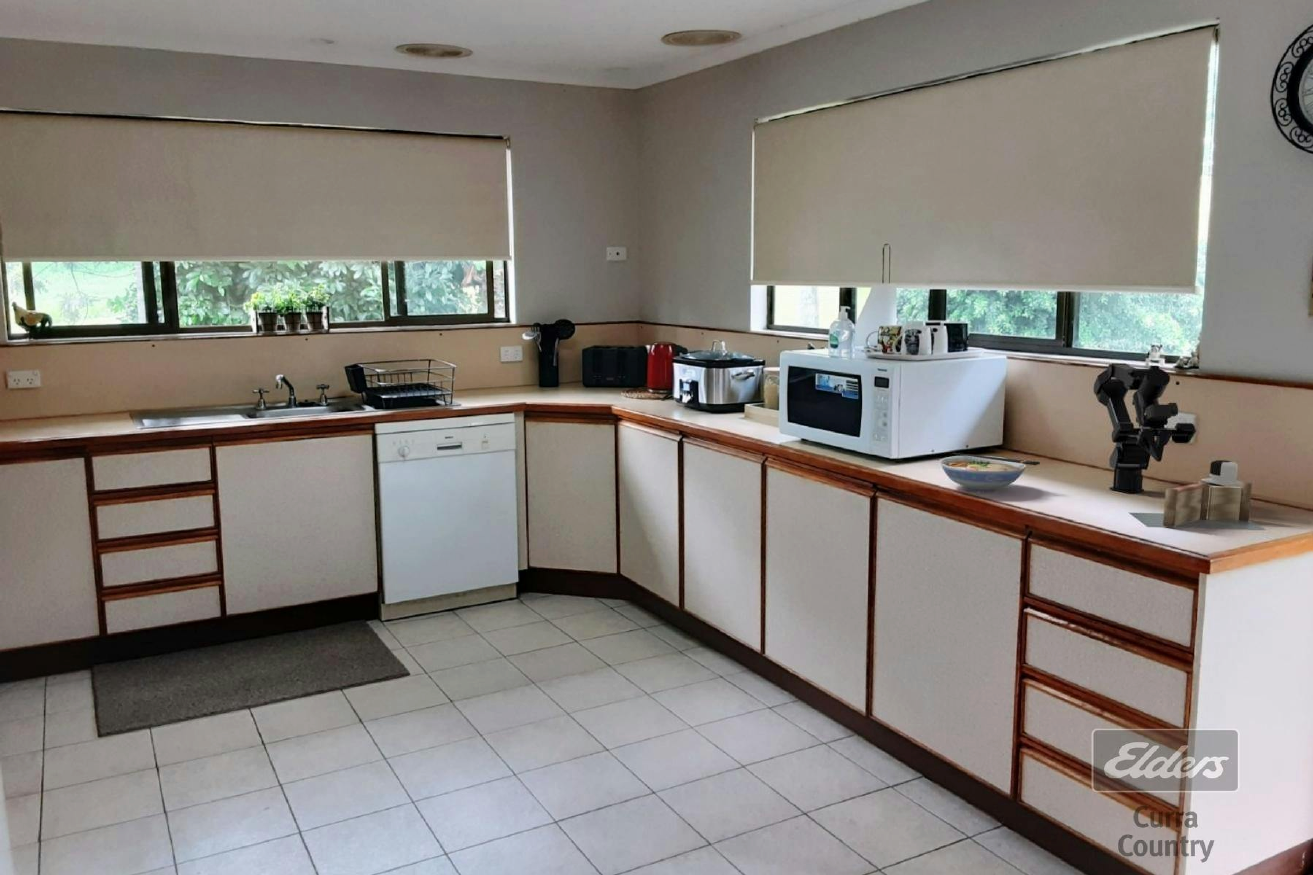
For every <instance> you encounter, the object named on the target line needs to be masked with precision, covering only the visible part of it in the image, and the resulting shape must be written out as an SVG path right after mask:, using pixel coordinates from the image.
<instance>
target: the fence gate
mask: <svg viewBox="0 0 1313 875" xmlns="http://www.w3.org/2000/svg"><path fill="white" fill-rule="evenodd" d="M1202 488H1203V485H1202V484H1198V483H1192V484H1187V485H1183V486H1182V485H1181V486H1179V487H1174V488H1170V487H1169V488H1168V487H1167V488H1165V492H1164V493H1165V496H1164V508H1163V513H1164V518H1163V525H1164V526H1168V527H1174V526H1175V525H1178V524H1182V523H1186V522H1190V521H1194V520H1198V519H1200V510H1201V498H1202Z"/></svg>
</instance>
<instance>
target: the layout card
mask: <svg viewBox="0 0 1313 875" xmlns="http://www.w3.org/2000/svg"><path fill="white" fill-rule="evenodd" d="M1128 514H1129V515H1131V517H1134V519H1136V520H1138V521H1139V522H1140V523H1141V524H1143V525H1144V526H1146V527H1147V528H1169V529H1171V528H1172V529H1174V528H1175V529H1206V530H1207V529H1210V530H1214V529H1215V530H1246V531H1249V530H1250V531H1254V530H1255V531H1267V529H1266V528H1265V527H1262V526H1260V525H1258V524H1257V523H1256V522H1253V521H1251V519H1250V520H1249V521H1230V520H1209V519H1207V517H1206V520H1194V521H1190V522H1186V523H1182V524H1178V525H1175V526H1174V527H1168V526H1164V525H1163V518H1164V512H1163V513H1162V512H1159V513H1158V512H1128Z"/></svg>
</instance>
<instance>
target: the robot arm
mask: <svg viewBox="0 0 1313 875" xmlns="http://www.w3.org/2000/svg"><path fill="white" fill-rule="evenodd" d="M1106 368H1107V369H1105V370H1103V371H1102V372H1101V373H1100V374H1098V375H1097V377H1096V379H1095V382H1094V383H1093V394H1094V395H1095V397H1096V399H1097V402H1099V403H1100V404H1102V405H1103V406H1105V407H1106V409H1107V412H1108V415H1109V418H1110V422H1111V424H1112V425H1111V426H1112V427H1113V430H1112V432H1111V440H1112V443H1114V444H1115V447H1114V448H1113V450H1112V453H1111V454H1110V457H1109V459H1108V460H1109V467H1110V468H1112V469H1113V470H1114V471H1113V482H1112V486H1110V487H1109V488H1108V489H1109V490H1112V491H1117V492H1120V493H1122V492H1123V493H1127V494H1134V493H1135V494H1136V493H1139V492H1144V491H1145V489H1144V488H1143V481H1144V475H1143V470H1145V471H1147V470H1148V469H1149V465H1150V460H1151V457H1152V458H1153V459H1154V460H1155V461H1156V462H1157V463H1158V462H1159V463H1161V462H1162V460H1163V453H1164V448H1165V446H1167V445H1168V444H1169V442H1170V440H1171V441H1172V442H1173V443H1175V444H1188V443H1190V442H1191V440H1192V439H1193V437H1194V435H1195V434H1196V432H1197V428H1196V425H1195V424H1194V423H1192V422H1176V424H1175V426H1174V427H1165V426H1167V425H1168V424H1169V421H1168V419H1171V418H1172V417H1176V416H1177V415H1179V407H1178V404H1177V402H1169V403H1167V404H1160V402H1159V398H1161V397H1163V394H1164V393H1165V390H1166V389H1167V387H1168V386H1169V384H1170V381H1171V376H1170V375H1169V373H1168V372H1166V371H1165V370H1164V369H1161V368H1160V365H1150V366H1149V368H1137V367H1134V366H1131V365H1129V364H1128V363H1123V362H1122V363H1121V362H1120V363H1118V362H1117V363H1115V362H1114V363H1113V362H1112V363H1109V364H1108V366H1107V367H1106ZM1129 391H1135V392H1134V393H1133V395H1132V402H1131V404H1132V406H1134V409H1135V414H1136V417H1135V423H1137V424H1138V427H1135V426H1134V425H1135V424H1134V422H1132V419H1131V418H1130V417H1131V416H1130V413H1129V411H1128V409H1127V405H1126V402H1125V399H1126V396H1127V394H1128V392H1129Z"/></svg>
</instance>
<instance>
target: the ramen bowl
mask: <svg viewBox="0 0 1313 875" xmlns="http://www.w3.org/2000/svg"><path fill="white" fill-rule="evenodd" d="M951 454H953V455H955V456H949V457H944V458H942V459H939V462H940V463H939V464H940V466H941V468H942V470H943V471H944V473H945V474H946V476H947V477H948V479H949V480H951V481H952V482H954V483H956V484H958V485H960V486H962V487H965V488H966V489H967V490H969V491H973V492H978V491H980V492H982V493H983V491H984V493H987V492H986V491H991V492H994V491H996V490H998V489H1002V488H1005V487H1008V486H1009V485H1011V484H1013V483H1015V481H1017V480H1018V478H1019V479H1020V477H1021V475H1022V474H1023V473H1024V472H1025V470H1026V468H1027V465H1029V466H1037V465H1038V466H1039V465H1040V463H1041V462H1040V461H1035V460H1034V461H1033V460H1024V459H1013V458H1006V457H1003V456H1002V457H1000V456H990V455H976V454H966V453H958V452H957V453H956V452H952V453H951ZM980 492H979V493H980Z"/></svg>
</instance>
